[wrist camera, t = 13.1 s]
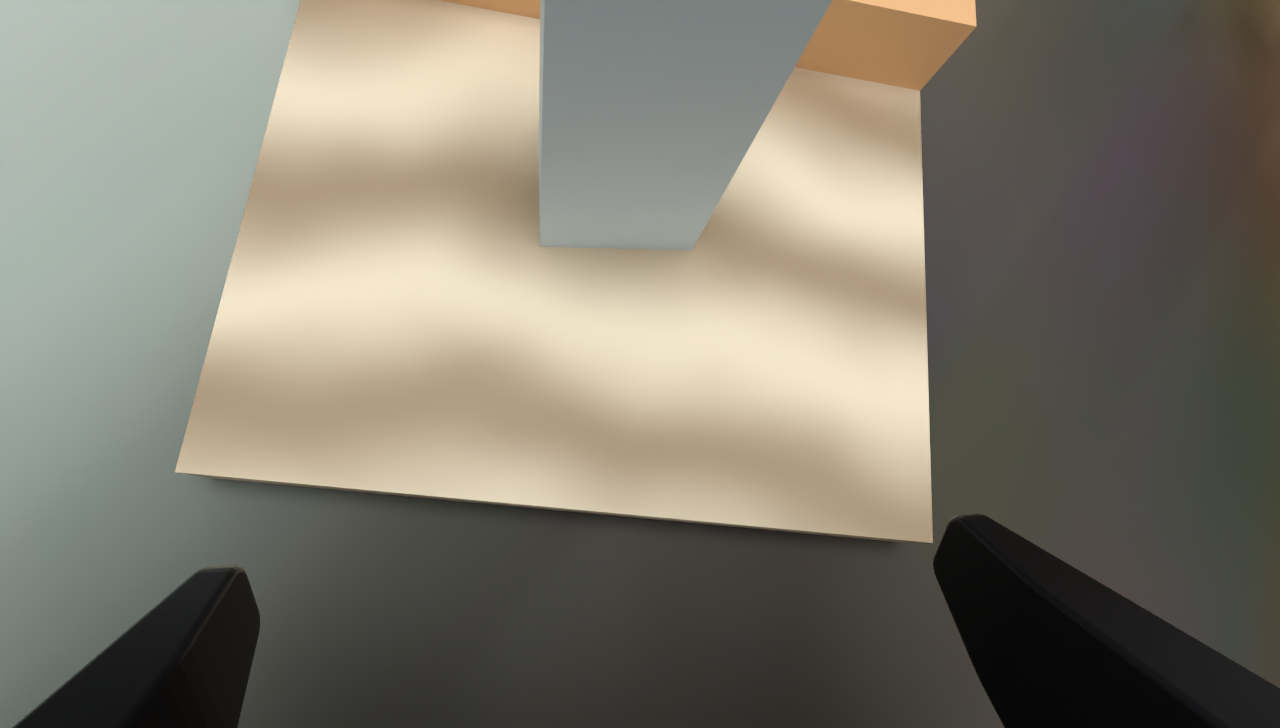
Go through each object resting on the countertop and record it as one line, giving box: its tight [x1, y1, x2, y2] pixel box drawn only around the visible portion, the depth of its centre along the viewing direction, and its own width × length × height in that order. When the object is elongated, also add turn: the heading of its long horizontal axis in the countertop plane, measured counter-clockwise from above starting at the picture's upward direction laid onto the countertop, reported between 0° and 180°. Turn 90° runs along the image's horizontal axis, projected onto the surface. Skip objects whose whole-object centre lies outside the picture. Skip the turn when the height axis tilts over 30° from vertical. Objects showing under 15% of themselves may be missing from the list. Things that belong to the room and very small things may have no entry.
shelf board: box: [175, 0, 933, 543], centre depth 20 cm, size 16×20×2 cm
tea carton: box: [539, 0, 832, 250], centre depth 14 cm, size 4×4×13 cm
